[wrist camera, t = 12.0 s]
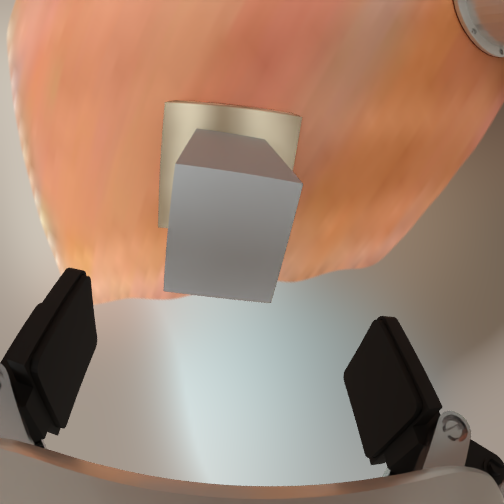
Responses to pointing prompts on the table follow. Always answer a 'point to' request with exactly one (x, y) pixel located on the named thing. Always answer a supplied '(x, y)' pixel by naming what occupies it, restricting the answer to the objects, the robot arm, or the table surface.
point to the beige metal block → (223, 120)
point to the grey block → (229, 217)
